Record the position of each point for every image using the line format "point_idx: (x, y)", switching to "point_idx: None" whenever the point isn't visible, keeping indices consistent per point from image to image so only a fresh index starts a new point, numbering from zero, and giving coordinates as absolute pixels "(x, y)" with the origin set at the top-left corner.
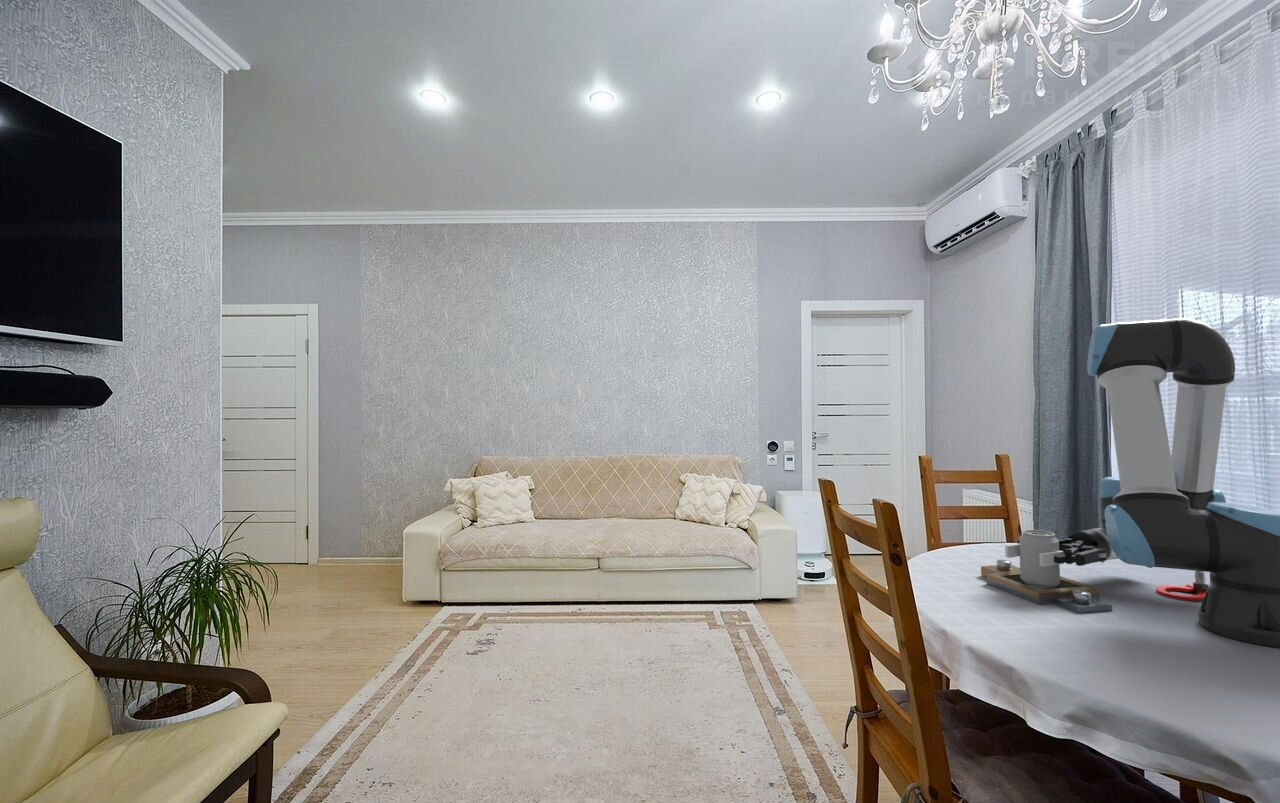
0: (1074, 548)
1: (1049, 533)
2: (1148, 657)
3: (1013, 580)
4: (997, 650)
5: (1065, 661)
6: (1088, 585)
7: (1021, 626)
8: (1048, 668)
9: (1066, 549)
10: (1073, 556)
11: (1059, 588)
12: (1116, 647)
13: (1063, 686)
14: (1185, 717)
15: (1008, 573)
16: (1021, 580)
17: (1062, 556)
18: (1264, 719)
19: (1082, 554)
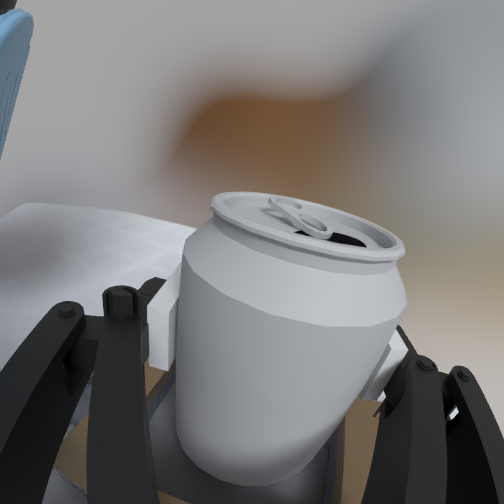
0: (115, 469)
1: (297, 247)
2: (33, 247)
3: (336, 432)
4: (155, 221)
5: (104, 224)
6: (86, 488)
7: (158, 256)
8: (114, 216)
9: (129, 287)
10: (96, 318)
11: (155, 384)
12: (56, 252)
13: (104, 208)
14: (46, 207)
15: (361, 417)
16: (333, 460)
17: (141, 289)
18: (6, 216)
19: (49, 311)
